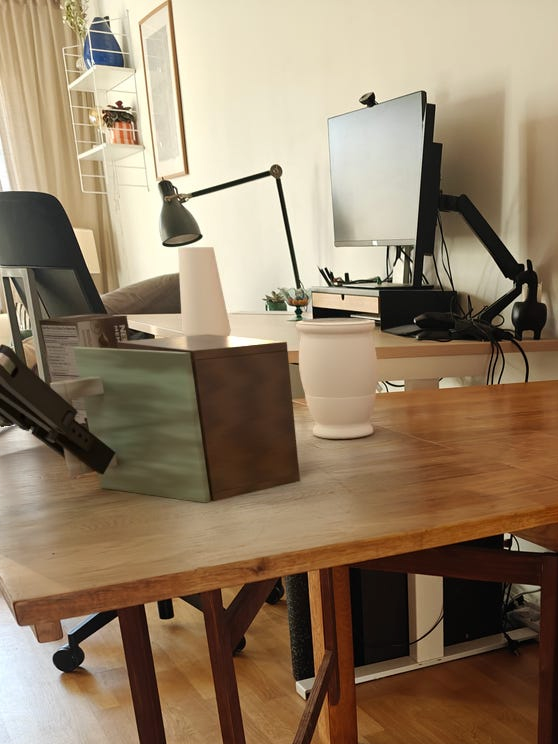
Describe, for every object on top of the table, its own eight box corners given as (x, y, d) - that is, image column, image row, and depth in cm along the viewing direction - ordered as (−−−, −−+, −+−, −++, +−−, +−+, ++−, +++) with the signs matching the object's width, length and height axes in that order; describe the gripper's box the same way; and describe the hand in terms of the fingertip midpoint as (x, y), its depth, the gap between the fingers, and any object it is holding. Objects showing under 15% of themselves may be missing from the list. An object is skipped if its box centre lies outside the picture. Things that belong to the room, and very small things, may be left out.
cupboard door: (167, 516, 83) (142, 359, 77) (59, 499, 89) (27, 352, 83) (211, 501, 88) (190, 352, 82) (105, 486, 94) (79, 346, 88)
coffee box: (111, 436, 120) (89, 313, 113) (150, 439, 118) (129, 314, 111) (63, 450, 112) (35, 318, 106) (103, 453, 110) (77, 319, 104)
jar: (396, 431, 122) (391, 319, 116) (347, 444, 114) (338, 324, 108) (339, 424, 127) (331, 316, 121) (289, 436, 119) (278, 321, 113)
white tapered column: (194, 427, 126) (168, 247, 116) (196, 419, 132) (172, 247, 122) (241, 425, 128) (220, 247, 118) (241, 417, 134) (221, 247, 124)
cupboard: (214, 502, 88) (193, 350, 82) (140, 479, 97) (116, 341, 91) (300, 482, 96) (287, 341, 90) (224, 463, 105) (207, 334, 99)
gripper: (-190, 329, 72) (35, 482, 92) (-92, 339, 65) (130, 502, 85) (-141, 259, 74) (69, 424, 94) (-40, 261, 67) (164, 438, 87)
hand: (98, 461), depth 89 cm, fingers open, 2 cm apart
